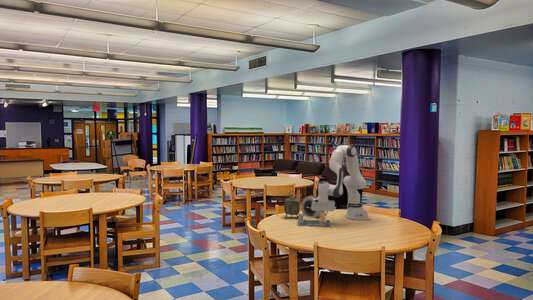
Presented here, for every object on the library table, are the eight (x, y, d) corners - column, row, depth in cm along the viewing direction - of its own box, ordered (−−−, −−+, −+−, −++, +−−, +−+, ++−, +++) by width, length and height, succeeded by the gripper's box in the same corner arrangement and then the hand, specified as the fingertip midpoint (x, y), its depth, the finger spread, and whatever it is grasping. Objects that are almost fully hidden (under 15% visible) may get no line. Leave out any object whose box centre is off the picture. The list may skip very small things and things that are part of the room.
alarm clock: (300, 214, 373) (301, 194, 372) (306, 213, 378) (306, 193, 377) (318, 218, 358) (318, 197, 357) (323, 217, 363) (323, 196, 362)
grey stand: (325, 221, 341) (325, 210, 340) (326, 224, 330) (326, 213, 329) (305, 221, 342) (305, 209, 342) (305, 224, 331) (305, 212, 331)
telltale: (322, 223, 332) (322, 220, 332) (322, 224, 330) (322, 221, 330) (320, 223, 333) (320, 220, 332) (320, 224, 331) (320, 221, 330)
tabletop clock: (299, 217, 363) (300, 190, 362) (299, 219, 354) (300, 192, 353) (284, 216, 365) (284, 190, 363) (283, 218, 356) (284, 191, 354)
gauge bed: (329, 222, 345) (330, 214, 345) (331, 227, 329) (331, 218, 329) (298, 221, 347) (298, 213, 347) (298, 225, 331) (298, 217, 331)
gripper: (334, 199, 339) (334, 215, 340) (311, 198, 340) (310, 214, 341) (335, 201, 332) (335, 216, 333) (311, 200, 334) (311, 216, 335)
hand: (322, 215), depth 337 cm, fingers closed on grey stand, 4 cm apart
